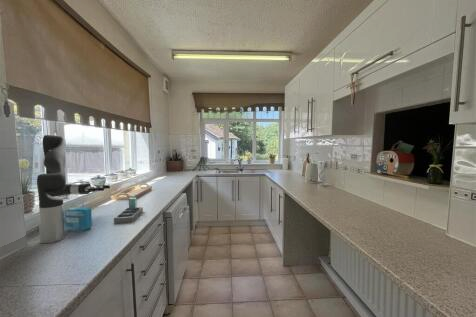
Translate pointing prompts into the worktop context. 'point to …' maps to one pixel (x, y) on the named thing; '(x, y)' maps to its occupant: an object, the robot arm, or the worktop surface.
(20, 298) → the worktop surface
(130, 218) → the slot rack
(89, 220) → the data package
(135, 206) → the brushed teal metal block
